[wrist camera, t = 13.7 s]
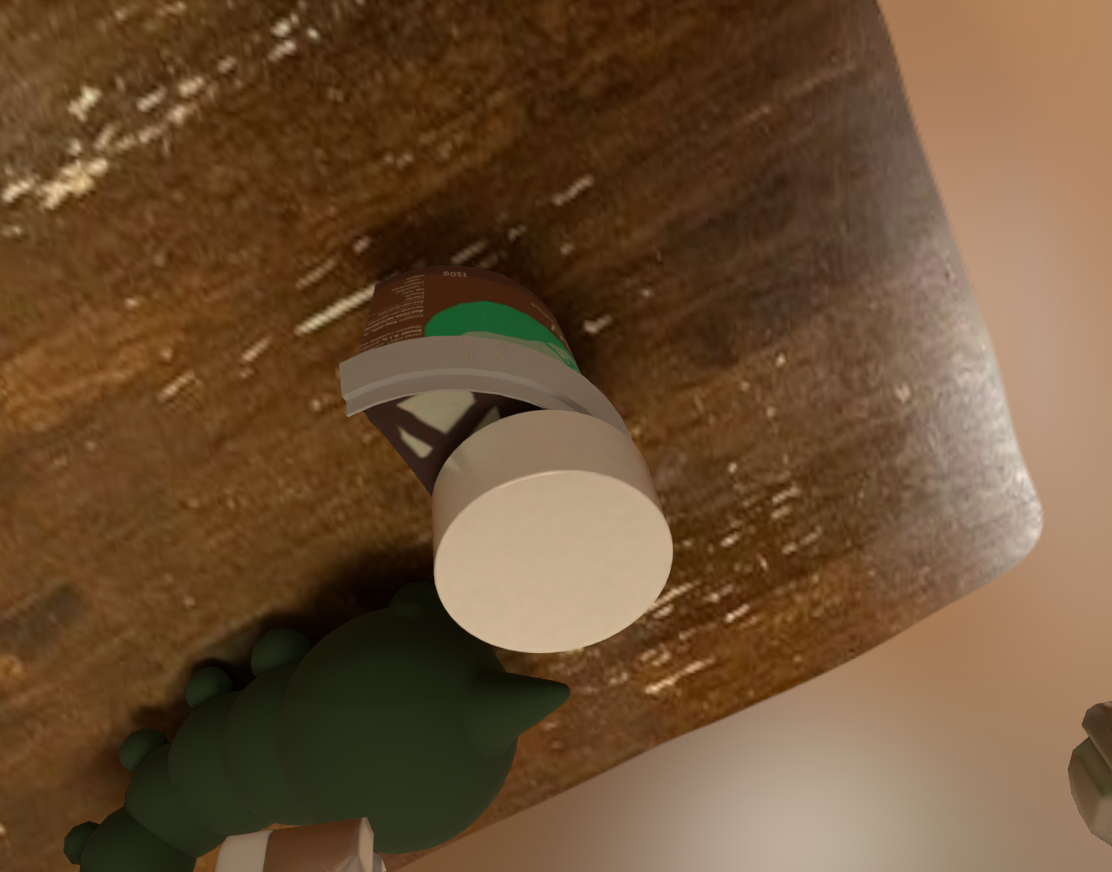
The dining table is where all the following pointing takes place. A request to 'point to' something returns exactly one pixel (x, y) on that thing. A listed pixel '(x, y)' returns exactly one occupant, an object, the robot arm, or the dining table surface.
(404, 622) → the toy figurine
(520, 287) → the food container
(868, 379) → the dining table surface
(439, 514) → the beige hockey puck
